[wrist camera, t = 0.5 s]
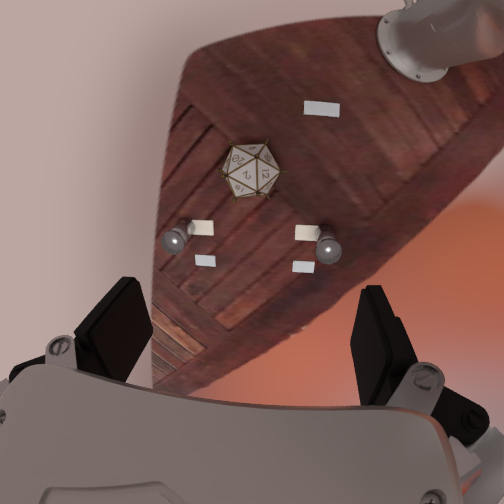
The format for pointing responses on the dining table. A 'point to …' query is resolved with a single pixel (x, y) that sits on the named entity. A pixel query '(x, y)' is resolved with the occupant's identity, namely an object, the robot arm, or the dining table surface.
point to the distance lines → (301, 230)
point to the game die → (250, 170)
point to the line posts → (180, 234)
